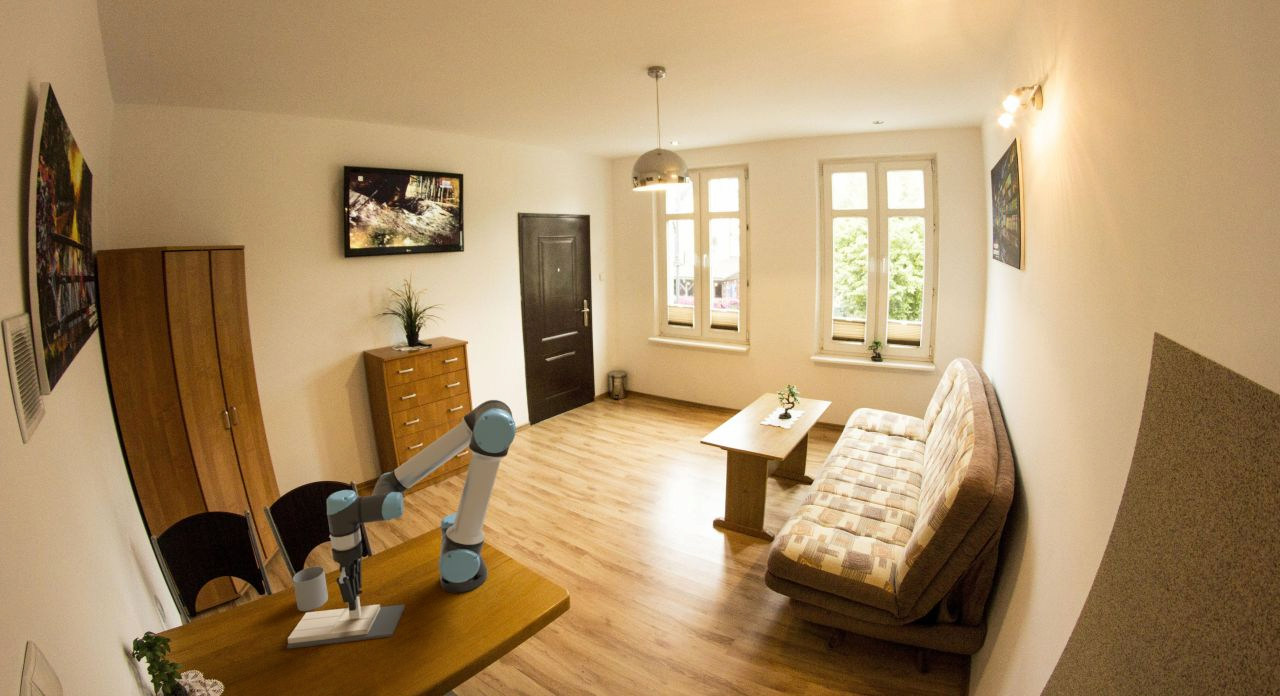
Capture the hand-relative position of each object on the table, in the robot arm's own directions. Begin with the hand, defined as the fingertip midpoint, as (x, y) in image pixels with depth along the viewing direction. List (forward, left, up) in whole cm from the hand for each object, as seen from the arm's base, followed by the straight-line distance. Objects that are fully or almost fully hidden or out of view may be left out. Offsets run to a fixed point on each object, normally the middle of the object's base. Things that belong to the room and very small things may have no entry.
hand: (355, 616), depth 155 cm
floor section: (+2, 0, -3) cm, 4 cm away
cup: (+18, -14, -3) cm, 23 cm away
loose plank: (0, 0, -2) cm, 2 cm away
